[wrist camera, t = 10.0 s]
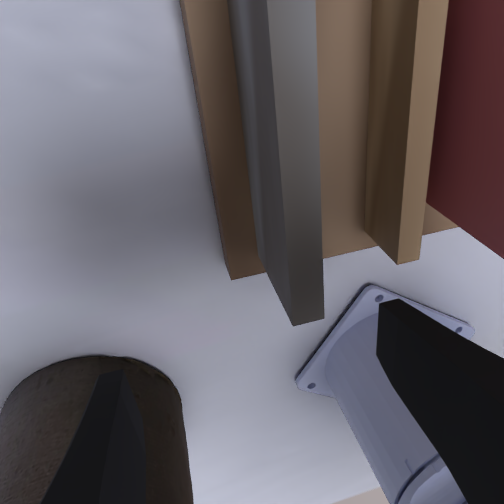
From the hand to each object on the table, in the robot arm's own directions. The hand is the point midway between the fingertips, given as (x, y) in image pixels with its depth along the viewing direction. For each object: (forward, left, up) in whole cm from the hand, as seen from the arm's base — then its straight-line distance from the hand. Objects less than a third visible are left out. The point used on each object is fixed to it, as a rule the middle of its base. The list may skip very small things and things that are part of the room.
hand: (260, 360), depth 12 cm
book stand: (-5, -9, -9) cm, 14 cm away
